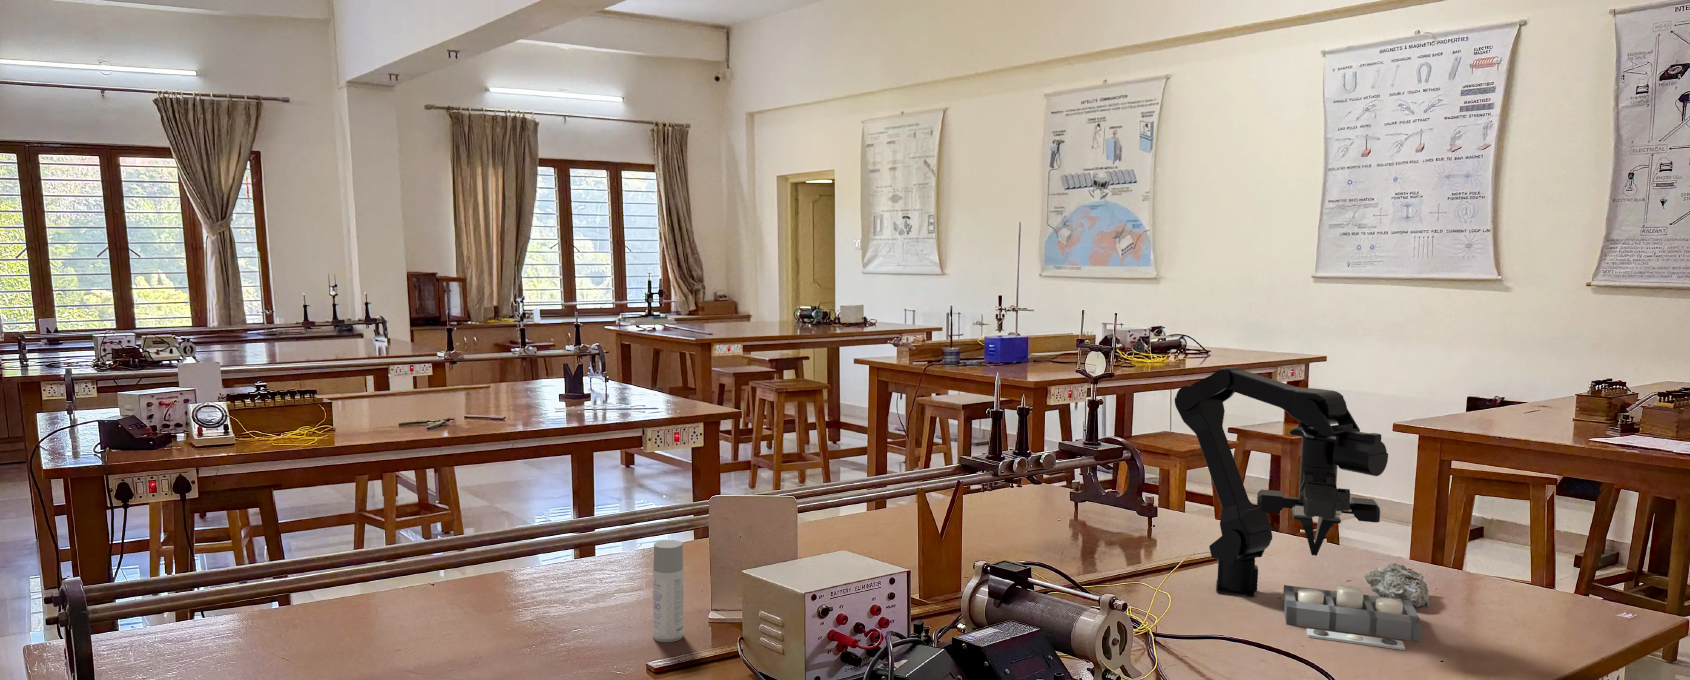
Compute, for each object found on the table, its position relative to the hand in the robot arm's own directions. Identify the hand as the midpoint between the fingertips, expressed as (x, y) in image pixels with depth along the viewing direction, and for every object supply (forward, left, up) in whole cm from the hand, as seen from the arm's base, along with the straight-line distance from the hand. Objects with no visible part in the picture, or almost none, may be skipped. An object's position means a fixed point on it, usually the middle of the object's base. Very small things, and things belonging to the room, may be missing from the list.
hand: (1313, 554), depth 176 cm
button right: (+12, 0, -10) cm, 16 cm away
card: (+6, -9, -11) cm, 15 cm away
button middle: (+6, 0, -9) cm, 11 cm away
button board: (+6, 0, -11) cm, 12 cm away
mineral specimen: (+16, +16, -11) cm, 25 cm away
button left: (0, 0, -10) cm, 10 cm away
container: (-96, -51, -11) cm, 109 cm away
